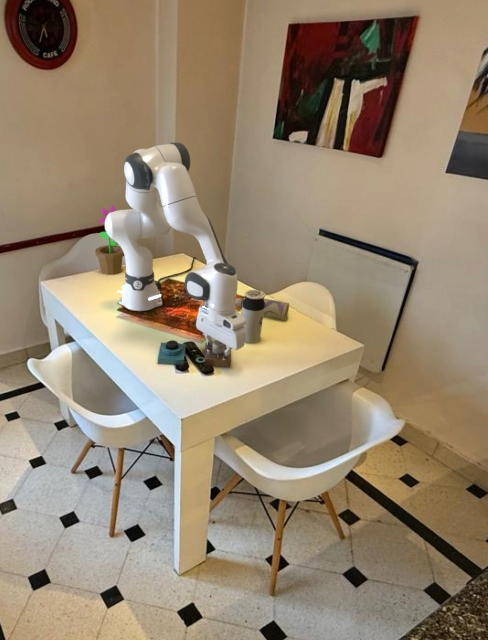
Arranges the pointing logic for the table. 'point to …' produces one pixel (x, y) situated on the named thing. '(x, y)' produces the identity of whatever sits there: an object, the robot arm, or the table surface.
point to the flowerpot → (109, 251)
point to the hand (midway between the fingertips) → (218, 349)
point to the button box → (171, 354)
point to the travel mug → (253, 314)
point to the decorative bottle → (270, 308)
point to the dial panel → (216, 358)
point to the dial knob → (217, 347)
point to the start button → (172, 345)
